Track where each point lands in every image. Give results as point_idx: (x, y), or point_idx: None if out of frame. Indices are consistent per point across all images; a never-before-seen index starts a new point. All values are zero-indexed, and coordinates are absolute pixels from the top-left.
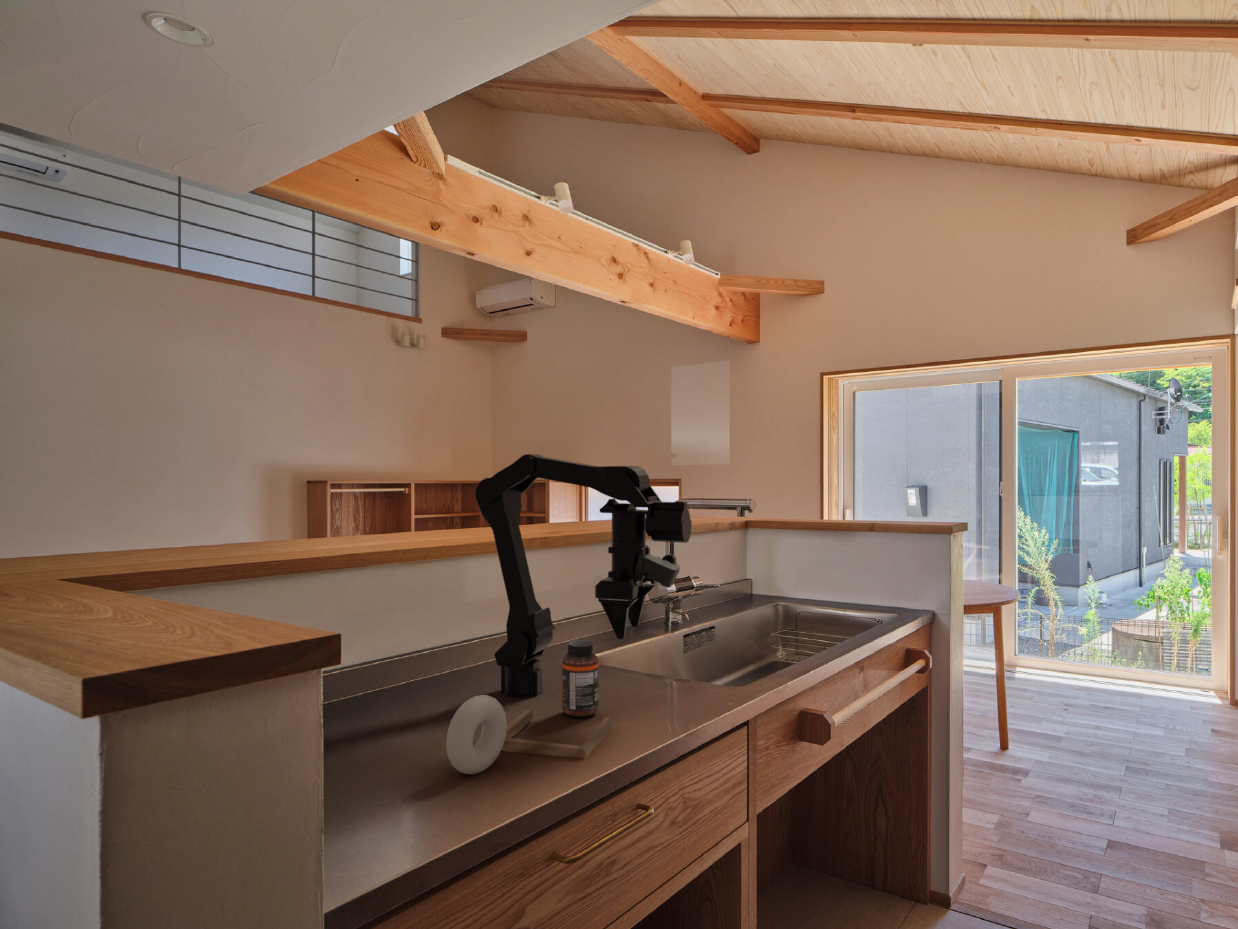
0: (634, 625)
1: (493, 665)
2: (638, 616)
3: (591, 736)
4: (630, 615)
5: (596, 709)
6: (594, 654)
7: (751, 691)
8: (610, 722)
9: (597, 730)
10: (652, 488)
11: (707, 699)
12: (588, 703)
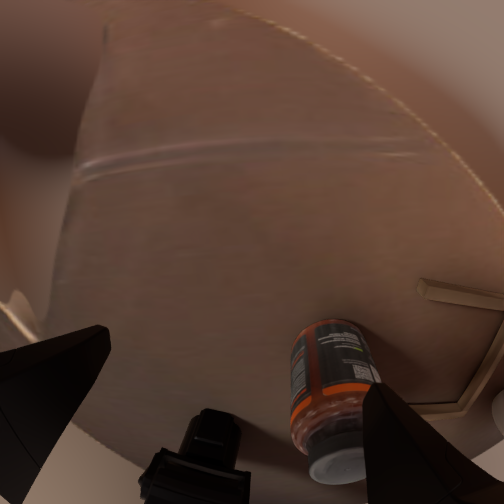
0: (106, 343)
1: (114, 444)
2: (77, 351)
3: (496, 306)
4: (84, 387)
5: (345, 322)
6: (330, 415)
7: (136, 4)
8: (435, 285)
9: (478, 301)
10: None
11: (193, 70)
12: (367, 345)
